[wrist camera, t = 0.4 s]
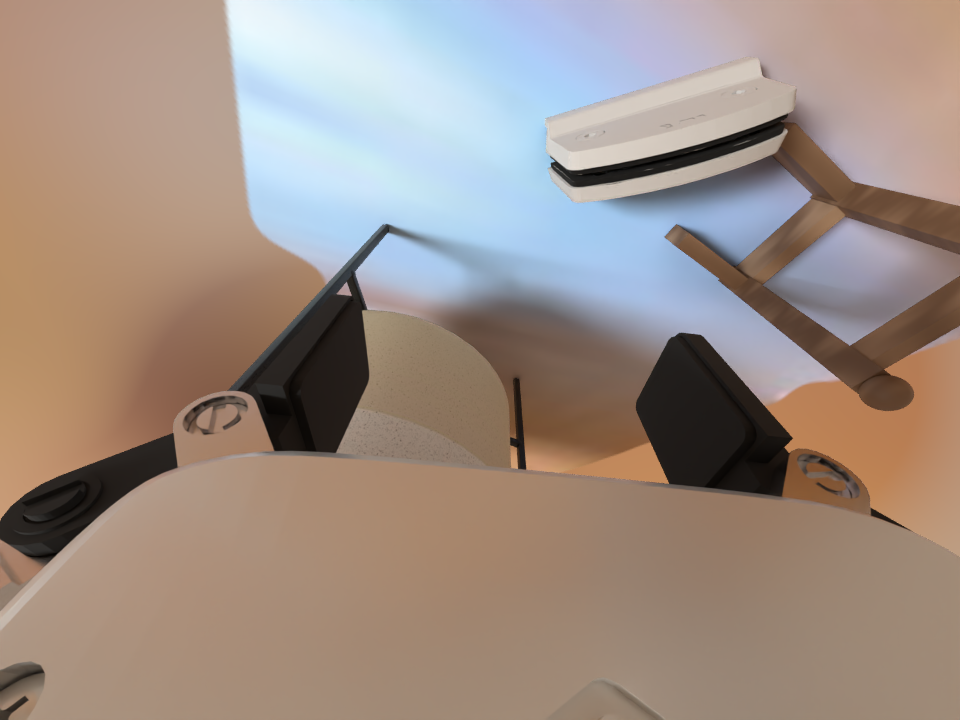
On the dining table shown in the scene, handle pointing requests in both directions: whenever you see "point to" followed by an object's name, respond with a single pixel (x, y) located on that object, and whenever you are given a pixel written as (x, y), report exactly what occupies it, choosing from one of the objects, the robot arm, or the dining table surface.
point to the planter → (415, 387)
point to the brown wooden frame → (827, 207)
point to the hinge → (669, 132)
